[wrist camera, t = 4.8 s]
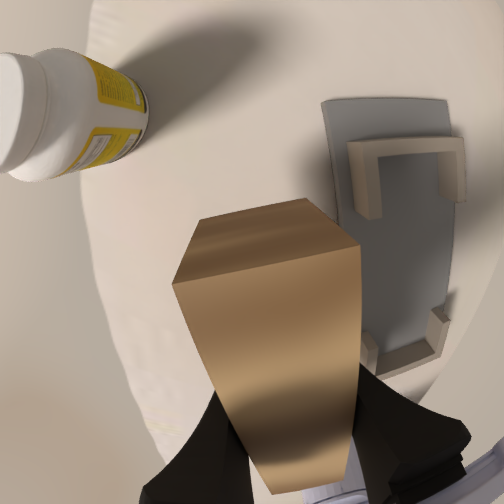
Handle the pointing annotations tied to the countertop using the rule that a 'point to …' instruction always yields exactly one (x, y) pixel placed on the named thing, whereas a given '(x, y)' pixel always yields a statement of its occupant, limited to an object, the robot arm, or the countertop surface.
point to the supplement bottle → (65, 114)
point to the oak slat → (279, 334)
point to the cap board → (398, 220)
